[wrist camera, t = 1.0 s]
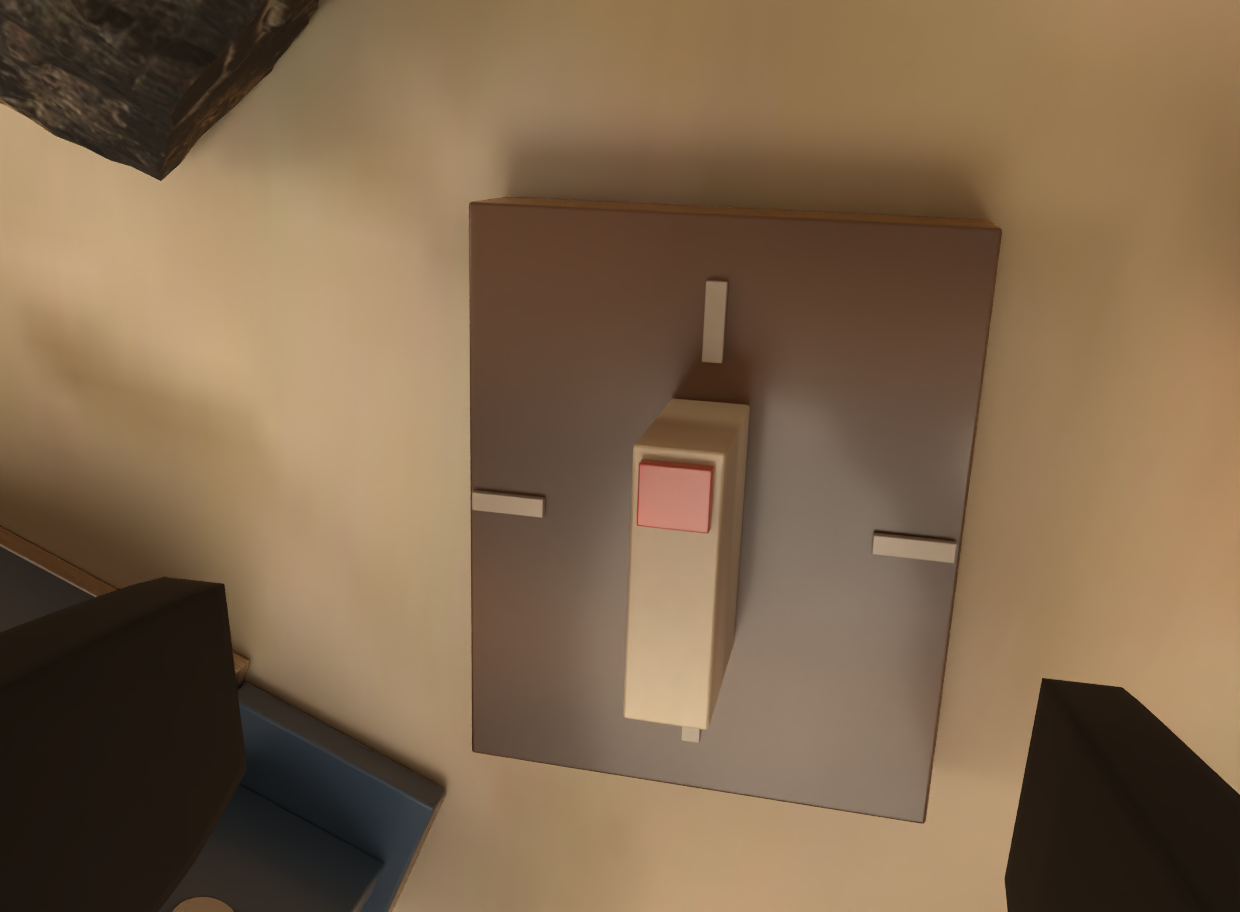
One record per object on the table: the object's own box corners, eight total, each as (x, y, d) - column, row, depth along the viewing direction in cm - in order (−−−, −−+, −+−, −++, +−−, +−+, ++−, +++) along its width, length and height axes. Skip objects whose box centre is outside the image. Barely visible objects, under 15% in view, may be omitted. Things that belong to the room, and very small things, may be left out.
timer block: (921, 767, 22) (925, 830, 20) (503, 705, 24) (468, 756, 22) (990, 219, 19) (1003, 229, 17) (505, 196, 21) (464, 202, 19)
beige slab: (734, 644, 20) (706, 739, 17) (659, 635, 21) (618, 726, 17) (750, 404, 19) (723, 458, 16) (671, 397, 19) (628, 448, 16)
